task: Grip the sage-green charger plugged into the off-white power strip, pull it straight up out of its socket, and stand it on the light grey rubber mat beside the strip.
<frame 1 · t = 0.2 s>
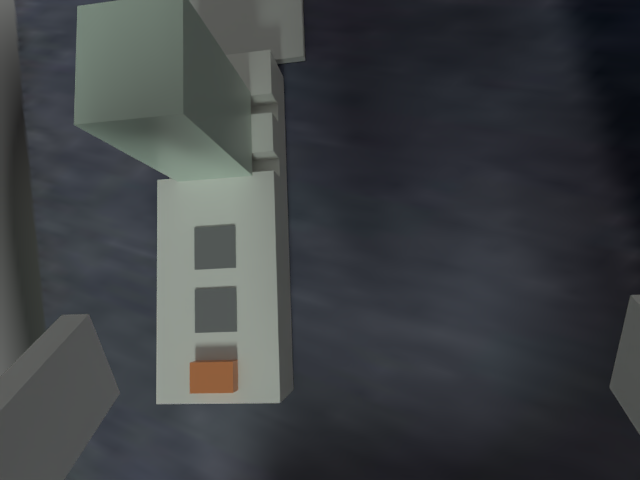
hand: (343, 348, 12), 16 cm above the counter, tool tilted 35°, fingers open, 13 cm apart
power strip: (235, 230, 30), on the counter
charger: (223, 145, 28), point 2 cm above the counter, touching power strip
mat: (231, 0, 32), on the counter
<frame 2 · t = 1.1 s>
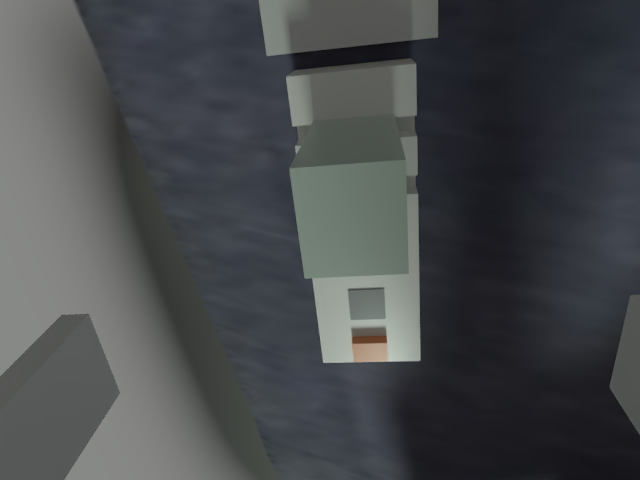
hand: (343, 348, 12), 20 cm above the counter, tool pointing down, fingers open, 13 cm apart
power strip: (362, 216, 32), on the counter
charger: (357, 153, 28), point 2 cm above the counter, touching power strip
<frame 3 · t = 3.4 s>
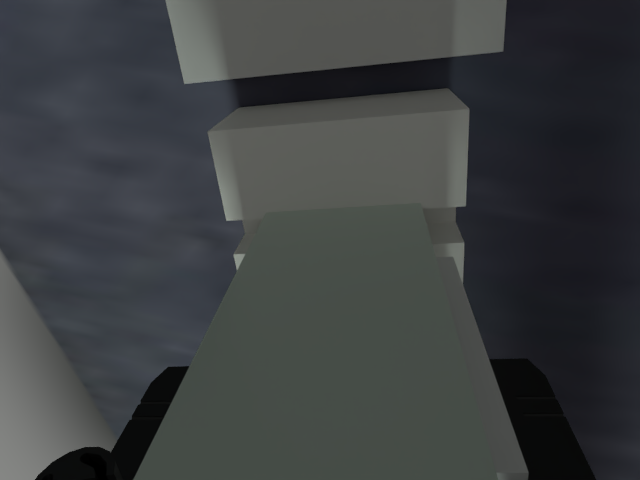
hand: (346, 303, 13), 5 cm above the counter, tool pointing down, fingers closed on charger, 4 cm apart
power strip: (360, 337, 20), on the counter
charger: (349, 258, 16), point 2 cm above the counter, touching gripper, power strip
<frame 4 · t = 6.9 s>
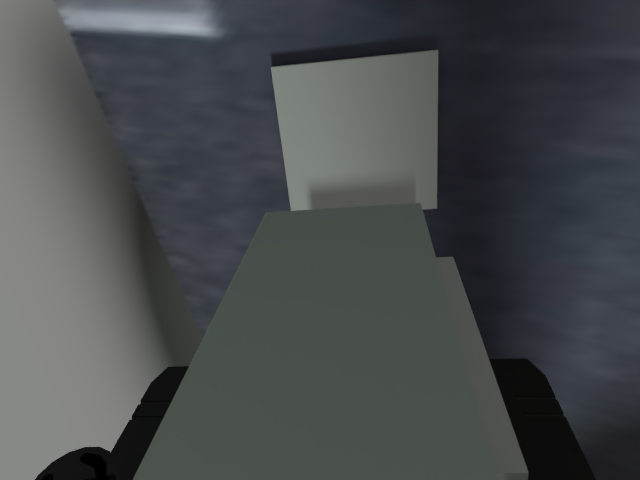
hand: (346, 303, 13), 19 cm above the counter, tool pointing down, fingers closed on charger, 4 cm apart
charger: (349, 258, 16), point 16 cm above the counter, touching gripper
mat: (358, 139, 30), on the counter
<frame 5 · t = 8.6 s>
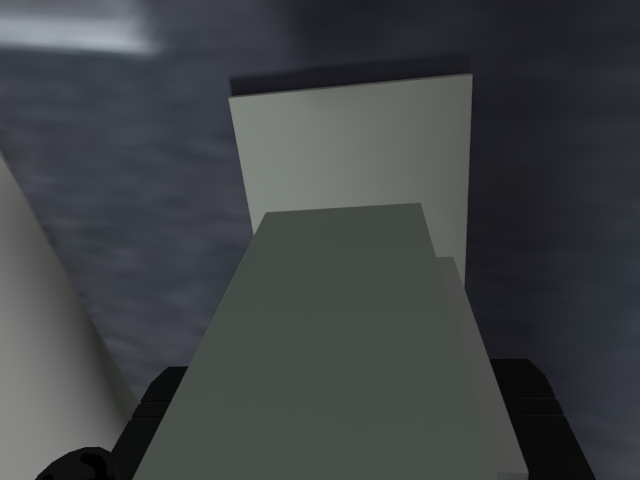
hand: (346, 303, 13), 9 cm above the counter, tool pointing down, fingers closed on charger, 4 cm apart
charger: (349, 258, 16), point 6 cm above the counter, touching gripper
mat: (355, 196, 21), on the counter
when the fingers open (5 cm above the counter, at t = 10.1 s): charger drops 2 cm, resting on mat.
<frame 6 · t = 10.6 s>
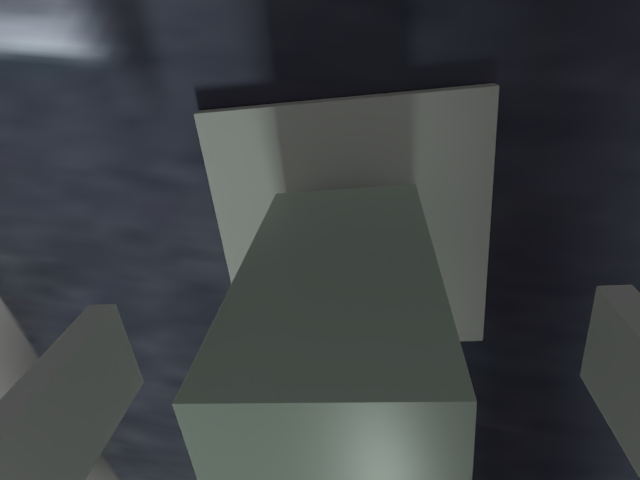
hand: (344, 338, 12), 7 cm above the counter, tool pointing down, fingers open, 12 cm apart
charger: (351, 237, 17), point 1 cm above the counter, touching mat
mat: (351, 230, 18), on the counter
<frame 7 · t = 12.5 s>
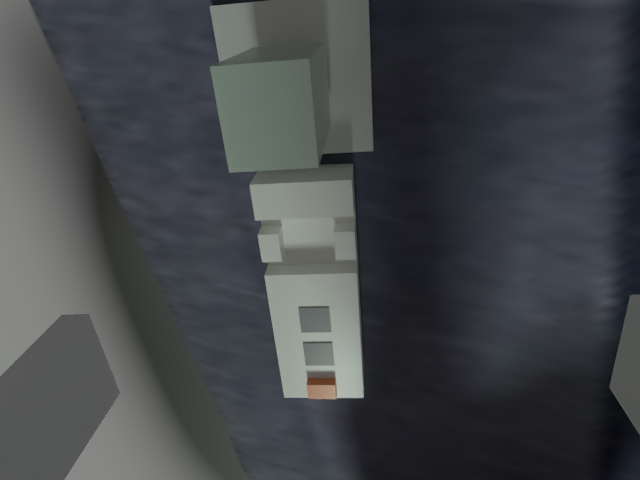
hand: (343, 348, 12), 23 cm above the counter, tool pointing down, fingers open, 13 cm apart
power strip: (317, 279, 39), on the counter
charger: (296, 82, 31), point 1 cm above the counter, touching mat
mat: (297, 81, 31), on the counter
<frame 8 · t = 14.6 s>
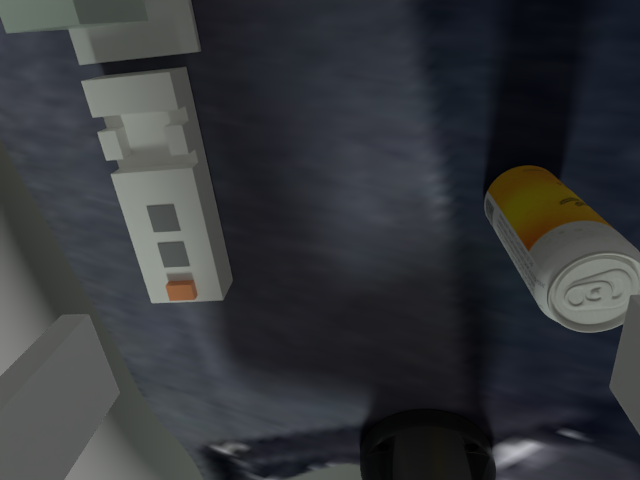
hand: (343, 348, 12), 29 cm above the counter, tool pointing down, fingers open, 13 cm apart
power strip: (175, 187, 41), on the counter
beer can: (518, 196, 39), on the counter
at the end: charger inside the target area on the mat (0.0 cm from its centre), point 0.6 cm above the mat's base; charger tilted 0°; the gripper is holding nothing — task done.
